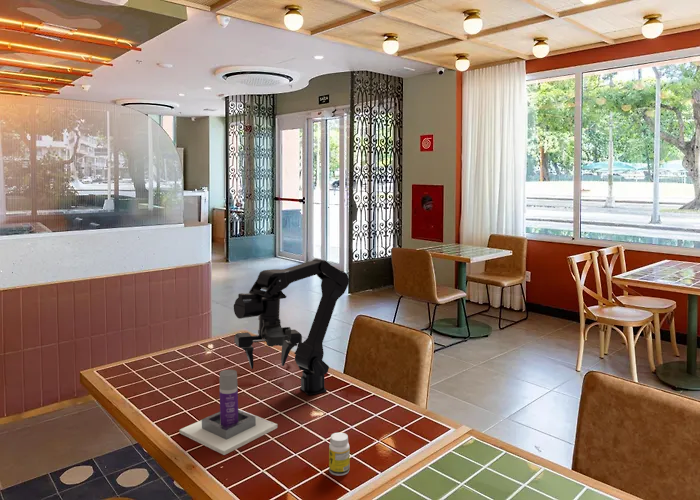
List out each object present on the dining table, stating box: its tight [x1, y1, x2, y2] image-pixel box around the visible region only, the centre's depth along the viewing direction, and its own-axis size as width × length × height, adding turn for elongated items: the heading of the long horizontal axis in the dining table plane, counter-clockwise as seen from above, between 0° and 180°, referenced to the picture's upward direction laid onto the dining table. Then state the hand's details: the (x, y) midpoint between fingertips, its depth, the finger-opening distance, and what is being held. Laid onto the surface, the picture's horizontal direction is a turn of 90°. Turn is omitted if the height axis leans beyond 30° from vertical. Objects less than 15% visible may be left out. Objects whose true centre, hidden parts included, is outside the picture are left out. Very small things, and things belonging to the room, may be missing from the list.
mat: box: [179, 408, 278, 456], centre depth 142 cm, size 18×18×1 cm
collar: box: [201, 409, 256, 440], centre depth 142 cm, size 10×10×2 cm
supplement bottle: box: [328, 432, 351, 477], centre depth 123 cm, size 5×5×8 cm
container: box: [219, 369, 239, 427], centre depth 141 cm, size 5×5×15 cm
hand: (267, 367), depth 156 cm, fingers open, 9 cm apart
